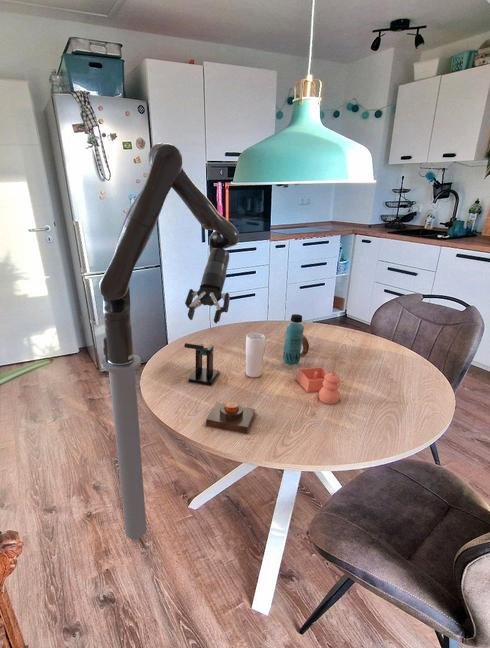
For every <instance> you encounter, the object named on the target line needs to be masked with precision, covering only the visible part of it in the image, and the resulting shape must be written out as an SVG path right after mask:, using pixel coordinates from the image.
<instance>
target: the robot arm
mask: <svg viewBox="0 0 490 648" xmlns="http://www.w3.org/2000/svg"><path fill="white" fill-rule="evenodd" d="M147 158H148V164H149V166H150V168H149V171H148V174H147V177H146V180H145V183H144V185H143V187H142V189H141V191H140V192H139V193H138V195H137V196H136V198H135V199H134V201H133V202H132V203H131V205H130V207H129V209H128V210H127V213H126V215H125V218H124V220H123V223H122V225H121V229H120V232H119V235H118V237H117V241H116V244H115V249H114V252H113V255H112V258H111V260H110V262H109V264H108V266H107V268H106V270H105V272H104V273H103V275H102V276H101V278H100V280H99V283H98V288H99V292H100V294H101V296H102V304H103V305H102V313H103V315H102V316H103V323H104V324H103V325H104V333H105V337H103V338H102V339H103V348H102V350H103V355H104V358H105V359H106V362H107V363H109V364H110V365H113V366H125V365H129V364H131V363H133V362H134V354H135V353H134V340H133V326H132V314H131V313H132V312H131V310H132V308H131V307H132V306H131V304H132V303H131V289H130V288H131V287H130V281H131V278H132V275H133V272H134V269H135V267H136V265H137V263H138V261H139V259H140V258H141V256H142V254H143V253H144V251H145V249H146V247H147V245H148V243H149V242H150V239H151V236H152V234H153V232H154V230H155V227H156V225H157V222H158V219H159V217H160V215H161V212H162V210H163V208H164V207H163V206H164V203H165V202H166V199H167V197H168V195H169V193H170V191H171V189H173V191H174V192H175V193H176V194H177V195H178V197H179V198H180V199H181V200H182V202H183V203H184V204H185V206H186V207H187V209H188V210H189V211H190V212H191V214H192V215H193V217H194V218H195V219H196V220H197V222H198V223H199V225H201V227H202V228H203V229H204V230H206V231H213V232H212V233H211V234H210V236H209V240H208V245H209V246H208V247H209V248H208V249H209V256H208V258H207V262H206V265H205V268H204V271H203V274H202V278H201V281H200V285H199V289H198V290H194V289H192V288H191V289H189V291H188V293H187V296H186V299H185V302H184V304H185V306H186V308H187V309H188V312H187V317H188V319H189V320H190V321H192V320H193V319H194V316H195V312H196V309H197V308H199V307H201V306H210V307H213V306H214V307H215V309H216V310H215V313H214V317H213V322H214V324H218V322H220V320H221V315H222V313H228V312H229V306H230V300H231V296H230V293H229V292H226V293H222V292H223V289H224V285H225V281H226V279H227V271H228V266H229V262H230V253H229V251H227V250H226V249H228V248H231V247H234V246H236V245H238V243H239V242H240V234H239V231H238V229H237V228H236V226H235V225H234V224H233V223H232V222H230V221H229V220H228V219H227V218H225V217H224V216H223V215H221V213H219V211H218V210H217V209H216V208H215V205H213V203H212V202H211V201H210V199H209V198H208V197H207V196H206V194H204V193H203V192H202V191H201V189H200V188H199V187H198V185H196V183H194V182H193V180H192V179H191V178H190V177H189V175H188V174H187V172H186V171H185V170H184V168H183V163H184V161H183V159H184V158H183V155H182V153H181V150H180V149H179V148H178V147H177V146H176V145H174V144H172V143H167V142H158V143H156V144H154V145H153V146H152V147H151V148H150V149H149V152H148V157H147ZM195 297H196V298H195ZM221 300H223V304H222V306H221V305H220V304H219V302H220V301H221Z"/></svg>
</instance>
